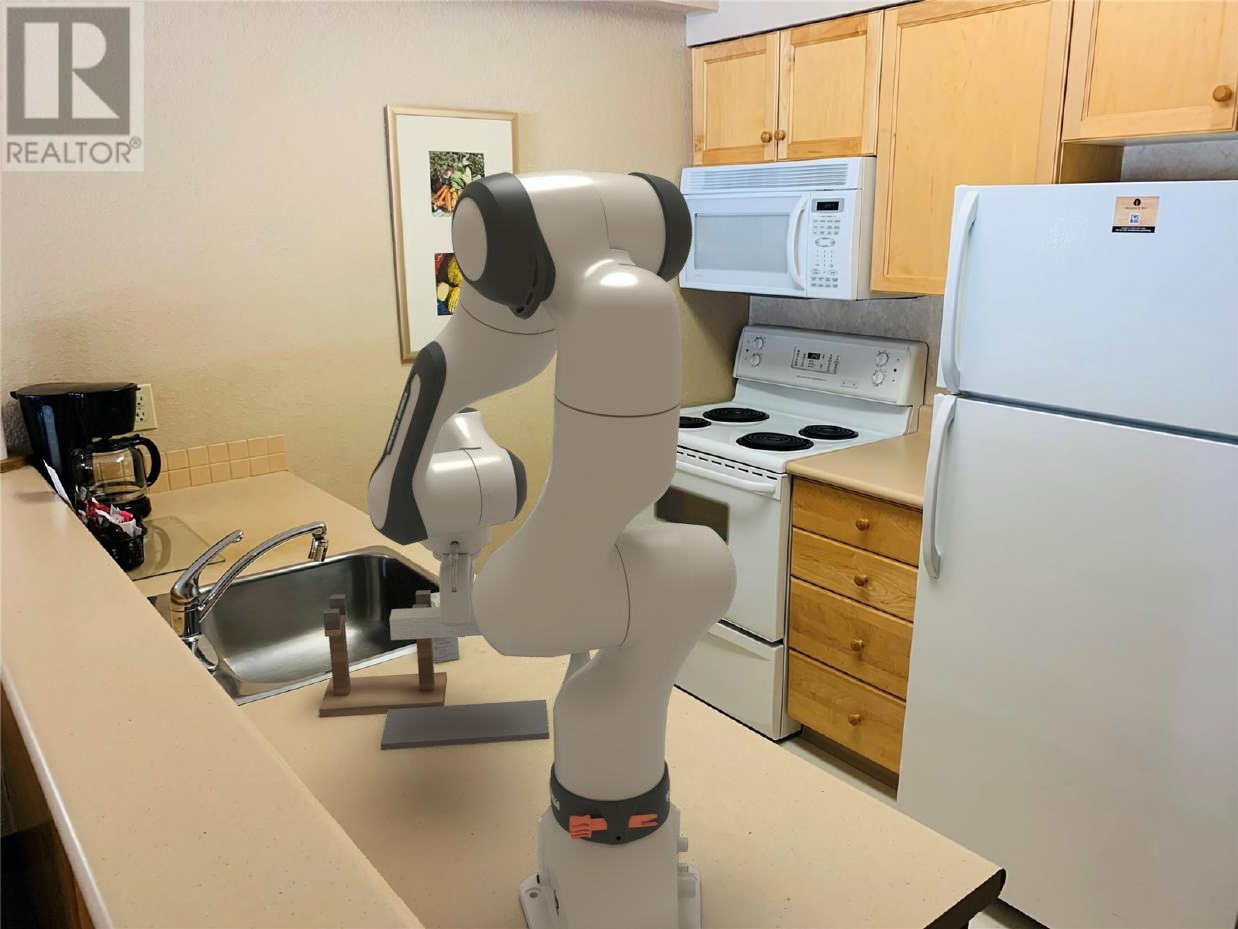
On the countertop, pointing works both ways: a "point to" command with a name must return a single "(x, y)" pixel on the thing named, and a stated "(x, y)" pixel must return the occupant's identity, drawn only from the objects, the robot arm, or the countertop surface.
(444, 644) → the medicine box
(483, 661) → the countertop surface
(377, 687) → the rail stand
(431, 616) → the steel rail
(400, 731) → the rubber mat
